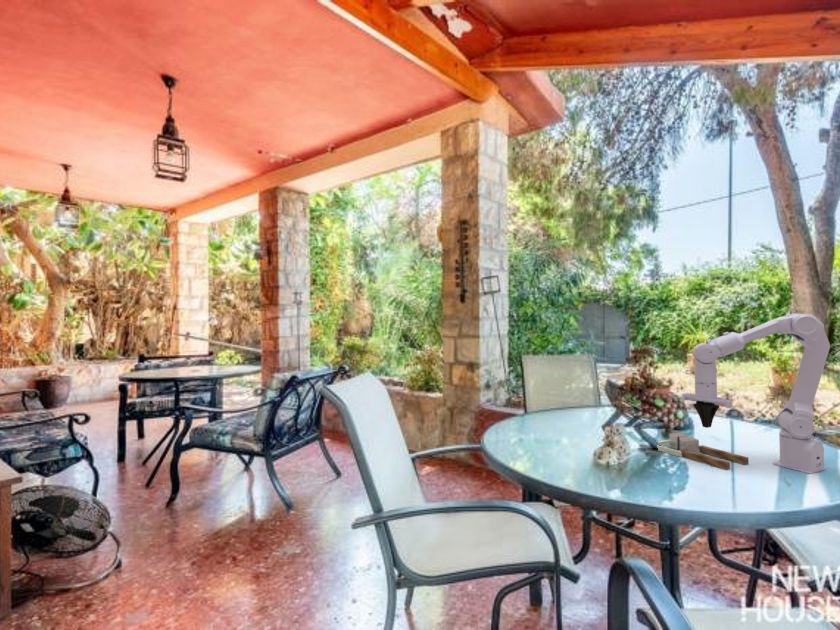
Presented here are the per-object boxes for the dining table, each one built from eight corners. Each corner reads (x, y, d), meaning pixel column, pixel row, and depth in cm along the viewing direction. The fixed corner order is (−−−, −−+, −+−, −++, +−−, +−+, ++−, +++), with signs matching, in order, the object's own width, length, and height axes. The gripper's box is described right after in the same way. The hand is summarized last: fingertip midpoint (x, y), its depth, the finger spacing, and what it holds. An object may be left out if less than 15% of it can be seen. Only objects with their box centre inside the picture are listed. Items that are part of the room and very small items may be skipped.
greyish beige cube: (688, 450, 151) (688, 436, 151) (677, 450, 151) (677, 436, 151) (680, 446, 155) (680, 433, 155) (669, 447, 155) (669, 433, 155)
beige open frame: (705, 451, 149) (705, 446, 149) (681, 457, 144) (680, 452, 144) (674, 442, 159) (674, 438, 159) (650, 447, 154) (650, 443, 154)
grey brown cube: (699, 454, 147) (698, 440, 147) (686, 454, 147) (686, 440, 147) (691, 450, 151) (690, 436, 151) (679, 450, 151) (678, 437, 151)
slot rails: (748, 464, 136) (748, 457, 136) (726, 470, 132) (726, 463, 132) (702, 451, 149) (702, 445, 149) (681, 456, 145) (681, 450, 145)
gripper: (675, 380, 147) (676, 423, 147) (721, 387, 134) (722, 434, 134) (690, 378, 150) (691, 420, 150) (736, 384, 137) (737, 430, 137)
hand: (706, 426), depth 142 cm, fingers closed
